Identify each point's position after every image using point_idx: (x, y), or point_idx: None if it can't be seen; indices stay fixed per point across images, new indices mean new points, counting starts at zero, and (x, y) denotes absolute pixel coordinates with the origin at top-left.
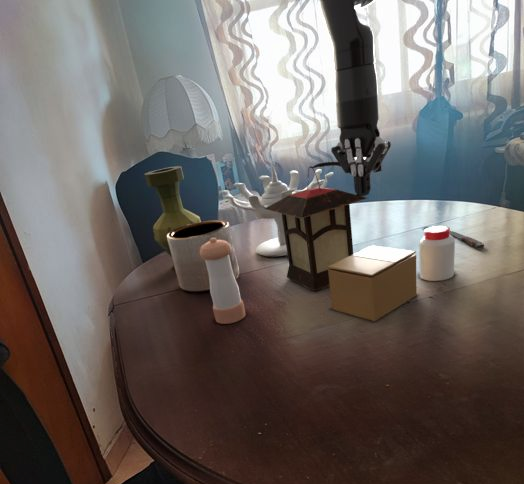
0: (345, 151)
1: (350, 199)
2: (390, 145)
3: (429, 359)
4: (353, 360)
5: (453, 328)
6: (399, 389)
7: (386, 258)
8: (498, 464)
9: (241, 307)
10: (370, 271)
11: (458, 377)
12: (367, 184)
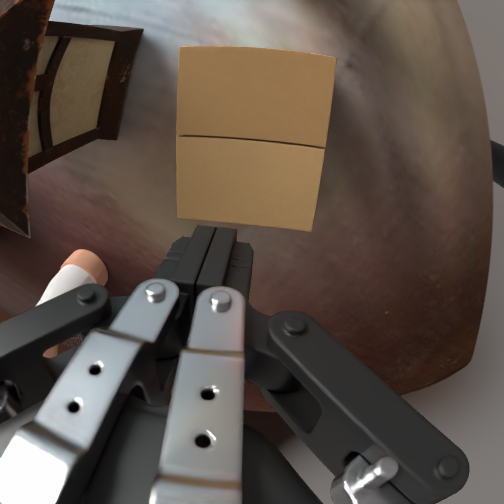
0: (11, 399)
1: (26, 31)
2: (464, 460)
3: (415, 256)
4: (332, 293)
5: (425, 170)
6: (399, 312)
7: (289, 127)
8: (468, 339)
9: (96, 273)
10: (297, 216)
11: (446, 273)
12: (249, 289)
